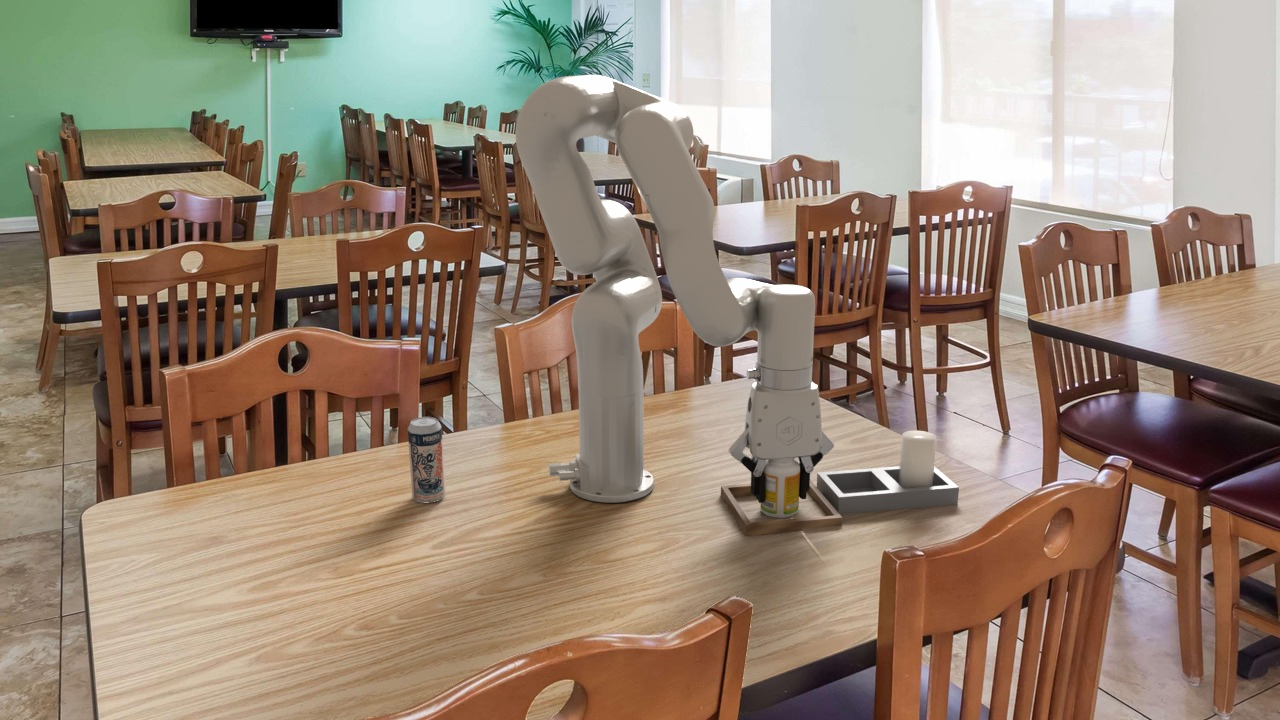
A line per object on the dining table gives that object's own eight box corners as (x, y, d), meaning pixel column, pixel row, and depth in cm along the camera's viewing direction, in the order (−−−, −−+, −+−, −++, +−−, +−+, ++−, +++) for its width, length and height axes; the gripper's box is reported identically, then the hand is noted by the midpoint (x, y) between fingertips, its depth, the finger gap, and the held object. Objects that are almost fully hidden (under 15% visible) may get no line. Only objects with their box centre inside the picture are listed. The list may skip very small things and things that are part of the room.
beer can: (413, 506, 156) (408, 428, 153) (411, 493, 160) (406, 417, 157) (447, 503, 157) (442, 425, 154) (444, 490, 162) (439, 414, 158)
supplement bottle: (797, 503, 157) (800, 441, 154) (799, 519, 151) (802, 455, 149) (760, 502, 157) (762, 439, 154) (760, 518, 152) (762, 453, 149)
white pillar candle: (906, 501, 156) (910, 443, 153) (892, 488, 161) (896, 431, 158) (937, 499, 157) (942, 441, 154) (923, 486, 161) (927, 429, 159)
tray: (746, 535, 147) (746, 525, 146) (720, 495, 159) (720, 485, 159) (841, 527, 149) (842, 517, 149) (809, 488, 162) (809, 478, 161)
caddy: (838, 516, 152) (839, 497, 151) (816, 491, 161) (817, 472, 160) (957, 506, 155) (959, 487, 155) (929, 482, 164) (931, 463, 163)
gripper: (730, 387, 143) (728, 513, 149) (853, 380, 146) (846, 503, 152) (716, 371, 150) (714, 491, 156) (834, 364, 153) (828, 482, 159)
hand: (779, 496), depth 154 cm, fingers closed on supplement bottle, 5 cm apart
